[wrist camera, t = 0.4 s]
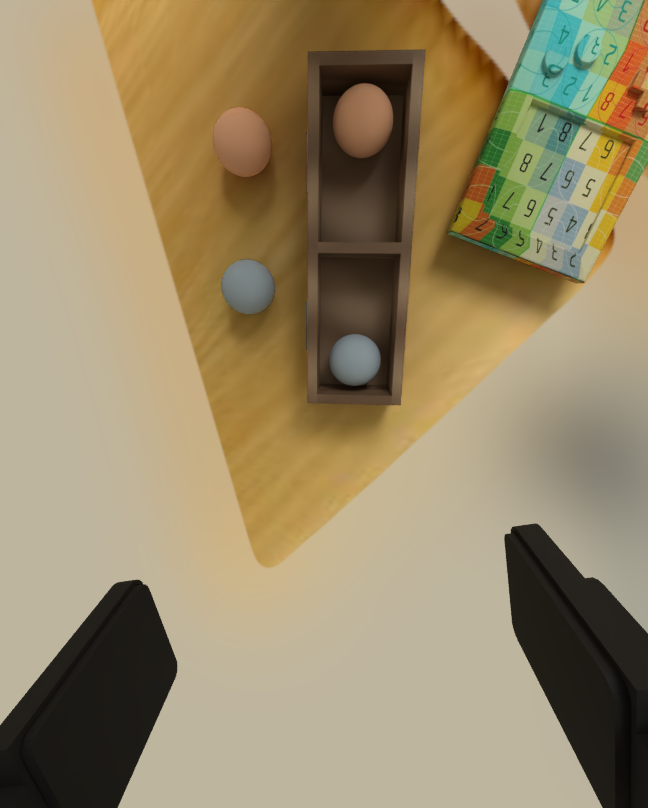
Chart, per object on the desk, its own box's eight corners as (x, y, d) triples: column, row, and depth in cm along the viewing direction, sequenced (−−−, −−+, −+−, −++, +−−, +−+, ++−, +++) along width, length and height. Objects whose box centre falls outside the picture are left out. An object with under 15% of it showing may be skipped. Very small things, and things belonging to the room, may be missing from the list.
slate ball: (228, 261, 35) (212, 256, 31) (278, 262, 35) (268, 256, 30) (231, 312, 36) (215, 314, 32) (279, 313, 36) (270, 315, 32)
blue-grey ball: (330, 331, 36) (328, 336, 31) (379, 332, 36) (384, 337, 31) (329, 379, 37) (327, 390, 33) (377, 380, 37) (381, 391, 32)
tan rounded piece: (334, 102, 31) (332, 69, 26) (391, 101, 31) (399, 68, 26) (333, 166, 32) (331, 145, 28) (388, 166, 32) (395, 145, 27)
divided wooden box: (310, 88, 31) (305, 51, 26) (413, 86, 31) (425, 49, 26) (310, 390, 38) (305, 402, 33) (393, 392, 38) (400, 405, 33)
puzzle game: (754, -24, 25) (591, 282, 30) (690, 26, 29) (559, 284, 34) (588, -96, 24) (453, 229, 29) (550, -34, 29) (439, 238, 34)
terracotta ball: (221, 123, 32) (202, 95, 28) (275, 122, 32) (264, 94, 27) (224, 184, 33) (206, 166, 29) (277, 184, 33) (266, 166, 29)
